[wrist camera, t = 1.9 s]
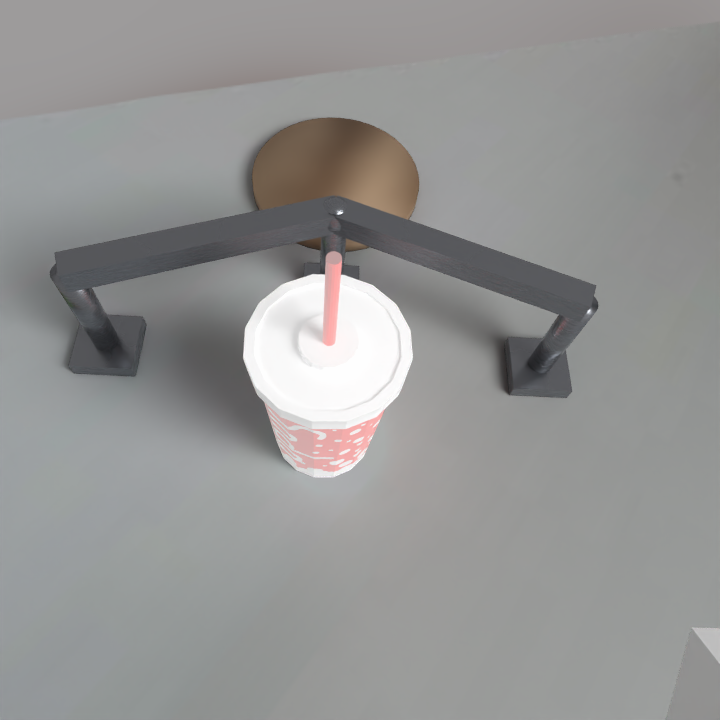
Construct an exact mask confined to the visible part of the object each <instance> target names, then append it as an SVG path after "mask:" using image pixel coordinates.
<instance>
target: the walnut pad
mask: <svg viewBox="0 0 720 720" xmlns="http://www.w3.org/2000/svg"><path fill="white" fill-rule="evenodd" d="M252 182H253V191H254V198H255V201H256V204H257V206H258V208H259V210H264V209H269V208H274V207H279V206H283V205H288V204H293V203H298V202H303V201H308V200H313V199H317V198H322V197H327V196H332V195H335V196H336V197H337V195H338V196H341V197H344V198H347V199H350V200H353V201H356V202H359V203H361V204H364V205H367V206H370V207H373V208H376V209H379V210H381V211H384V212H387V213H390V214H393V215H396V216H399V217H401V218H404V219H407V220H409V218H410V217H411V215H412V213H413V210H414V208H415V204H416V200H417V196H418V191H419V177H418V172H417V168H416V165H415V163H414V161H413V159H412V157H411V156H410V154H409V153H408V151H407V150H406V149H405V148H404V147H403V146H402V145H401V144H400V143H399V142H398V141H397V140H396V139H395V138H393V137H392V136H390V135H389V134H388V133H386V132H384V131H382V130H381V129H379V128H376V127H374V126H372V125H369V124H366V123H363V122H360V121H356V120H351V119H344V118H318V119H312V120H307V121H303V122H299V123H297V124H294V125H291V126H289V127H287V128H285V129H283V130H281V131H280V132H278V133H277V134H275V135H274V136H273V137H272V138H271V139H270V140H268V141H267V142H266V144H265V145H264V146H263V147H262V148H261V150H260V152H259V153H258V155H257V157H256V160H255V162H254V166H253V170H252ZM296 243H298V244H300V245H303V246H306V247H309V248H313V249H318V250H321V237H319V238H314V239H310V240H305V241H301V242H296ZM365 248H369V247H368V246H366V245H363V244H360V243H357V242H354V241H352V240H349V239H346V247H345V252H346V251H356V250H361V249H365Z"/></svg>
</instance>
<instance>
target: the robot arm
mask: <svg viewBox="0 0 720 720" xmlns="http://www.w3.org/2000/svg"><path fill="white" fill-rule="evenodd" d="M666 720H720V628H692V627H691V631H690V634H689V638H688V642H687V645H686V649H685V652H684V656H683V660H682V663H681V667H680V670H679V674H678V678H677V681H676V685H675V688H674V692H673V696H672V699H671V703H670V706H669V710H668V714H667V717H666Z"/></svg>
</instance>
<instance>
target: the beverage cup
mask: <svg viewBox="0 0 720 720" xmlns="http://www.w3.org/2000/svg"><path fill="white" fill-rule="evenodd" d="M341 267H342V256H341V254H340V253H338V252H336V251H332V252H329V253H328V254H327V255H326V265H325V274H312V275H309V276H306V277H302V278H299V279H296V280H293V281H290V282H287V283H284V284H282V285H281V286H279V287H278V288H277V289H276V290H274V291H273V292H272V293H271V294H269V295H268V296H267V297H266V298H264V299H263V300H262V301H260V302H259V304H258V306H257V307H256V309H255V311H254V313H253V315H252V317H251V318H250V320H249V322H248V324H247V326H246V327H245V337H244V353H243V359H244V363H245V365H246V369H247V371H248V373H249V376H250V378H251V381H252V383H253V386H254V388H255V391H256V393H257V395H258V396H259V397H260V398H261V399H262V400H263V401H264V403H265V406H266V409H267V412H268V416H269V419H270V422H271V425H272V428H273V431H274V434H275V437H276V441H277V443H278V446H279V448H280V450H281V453H282V455H283V458H284V459H285V460H286V461H287V462H288V463H289V464H291V465H292V466H293V467H294V468H295V469H296V470H297V471H299V472H302V473H304V474H307V475H310V476H312V477H335V476H337V475H339V474H342V473H344V472H347V471H349V470H351V469H352V468H353V467H354V466H355V465H356V464H357V463H358V462H359V461H360V460H361V459H362V458H363V457H364V454H365V452H366V450H367V448H368V445H369V443H370V441H371V439H372V437H373V434H374V432H375V430H376V428H377V426H378V423H379V421H380V419H381V417H382V415H383V412H384V410H385V408H386V407H387V406H388V405H389V404H390V403H391V402H392V401H393V400H394V399H395V398H396V397H397V396H398V395H399V393H400V390H401V389H402V386H403V383H404V381H405V378H406V376H407V373H408V370H409V368H410V365H411V362H412V359H413V355H412V343H411V331H410V328H409V326H408V324H407V323H406V321H405V319H404V317H403V315H402V314H401V312H400V310H399V308H398V306H397V305H396V304H395V303H394V302H393V301H392V300H390V299H389V298H388V297H387V296H386V295H384V294H383V293H382V292H381V291H379V290H378V289H377V288H376V287H375V286H373V285H371V284H368V283H365V282H363V281H360V280H357V279H354V278H351V277H348V276H346V275H341Z"/></svg>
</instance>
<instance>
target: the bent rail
mask: <svg viewBox="0 0 720 720" xmlns="http://www.w3.org/2000/svg"><path fill="white" fill-rule="evenodd" d="M319 237H321V259H320V264H316V263H305V265H304V277H306V276H309V275H312V274H325V265H326V255H327V254H328V253H329V252H332V251H336V252H338V253H340V254H341V256H342V267H341V275H346V276H348V277H351V278H354V279H357V280H359V266H349V265H344V258H345V247H346V239H349V240H352V241H354V242H357V243H360V244H363V245H366V246H368V247H371V248H374V249H377V250H380V251H382V252H385V253H388V254H391V255H394V256H396V257H399V258H402V259H405V260H408V261H410V262H413V263H416V264H419V265H422V266H424V267H427V268H430V269H433V270H436V271H438V272H441V273H444V274H447V275H450V276H452V277H455V278H458V279H461V280H464V281H467V282H469V283H472V284H475V285H478V286H481V287H483V288H486V289H489V290H492V291H495V292H497V293H500V294H503V295H506V296H509V297H511V298H514V299H517V300H520V301H523V302H525V303H528V304H531V305H534V306H537V307H539V308H542V309H545V310H548V311H551V312H553V313H556V314H559V316H558V317H557V319H556V320H555V321H554V323H553V324H552V326H551V327H550V329H549V330H548V332H547V333H546V334H545V336H544V337H543V339H536V338H518V337H508V339H507V341H506V342H505V344H504V347H505V356H506V366H507V376H508V385H509V395H520V396H540V397H560V398H567V396H568V395H569V394H570V393H571V392H572V387H571V381H570V375H569V368H568V362H567V355H566V349H567V348H568V346H569V345H570V344H571V343H572V341H573V340H574V339H575V337H576V336H577V335H578V334H579V332H580V331H581V330H582V329H583V327H584V326H585V325H586V323H587V322H588V321H589V320H590V318H591V317H592V316H593V315H594V313H595V312H596V311H597V309H598V301H597V299H596V298H595V297H594V293H595V289H596V285H593V284H590V283H588V282H585V281H582V280H579V279H576V278H573V277H570V276H568V275H565V274H562V273H559V272H556V271H553V270H550V269H547V268H545V267H542V266H539V265H536V264H533V263H530V262H527V261H525V260H522V259H519V258H516V257H513V256H510V255H507V254H505V253H502V252H499V251H496V250H493V249H490V248H487V247H484V246H482V245H479V244H476V243H473V242H470V241H467V240H464V239H462V238H459V237H456V236H453V235H450V234H447V233H444V232H442V231H439V230H436V229H433V228H430V227H427V226H424V225H422V224H419V223H416V222H413V221H410V220H407V219H404V218H401V217H399V216H396V215H393V214H390V213H387V212H384V211H381V210H379V209H376V208H373V207H370V206H367V205H364V204H361V203H359V202H356V201H353V200H350V199H347V198H344V197H341V196H338V195H337V197H336V196H335V195H332V196H327V197H322V198H317V199H313V200H308V201H303V202H298V203H293V204H288V205H283V206H279V207H274V208H269V209H264V210H259V211H254V212H249V213H245V214H240V215H235V216H230V217H225V218H220V219H215V220H211V221H206V222H201V223H196V224H191V225H186V226H181V227H177V228H172V229H167V230H162V231H157V232H152V233H147V234H143V235H138V236H133V237H128V238H123V239H118V240H113V241H109V242H104V243H99V244H94V245H89V246H84V247H79V248H75V249H70V250H65V251H60V252H55V259H56V264H55V265H54V266H53V267H52V269H51V271H50V277H51V279H52V281H53V282H54V284H55V285H56V287H57V288H58V290H59V291H60V293H61V295H62V296H63V298H64V299H65V301H66V302H67V304H68V305H69V307H70V308H71V310H72V312H73V313H74V315H75V316H76V318H77V319H78V321H79V322H80V325H79V329H78V332H77V336H76V340H75V343H74V347H73V351H72V354H71V358H70V362H69V365H68V366H69V368H70V369H71V370H72V371H73V373H78V374H98V375H118V376H136V372H137V367H138V362H139V358H140V353H141V348H142V343H143V339H144V334H145V329H146V323H145V320H144V318H143V317H138V316H120V315H106V313H105V311H104V309H103V307H102V306H101V304H100V302H99V300H98V298H97V297H96V295H95V293H94V291H93V289H92V287H97V286H101V285H106V284H110V283H115V282H119V281H124V280H128V279H133V278H137V277H142V276H146V275H151V274H156V273H160V272H165V271H169V270H174V269H178V268H183V267H187V266H192V265H196V264H201V263H206V262H210V261H215V260H219V259H224V258H228V257H233V256H237V255H242V254H246V253H251V252H255V251H260V250H265V249H269V248H274V247H278V246H283V245H287V244H292V243H296V242H301V241H305V240H310V239H314V238H319Z"/></svg>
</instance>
